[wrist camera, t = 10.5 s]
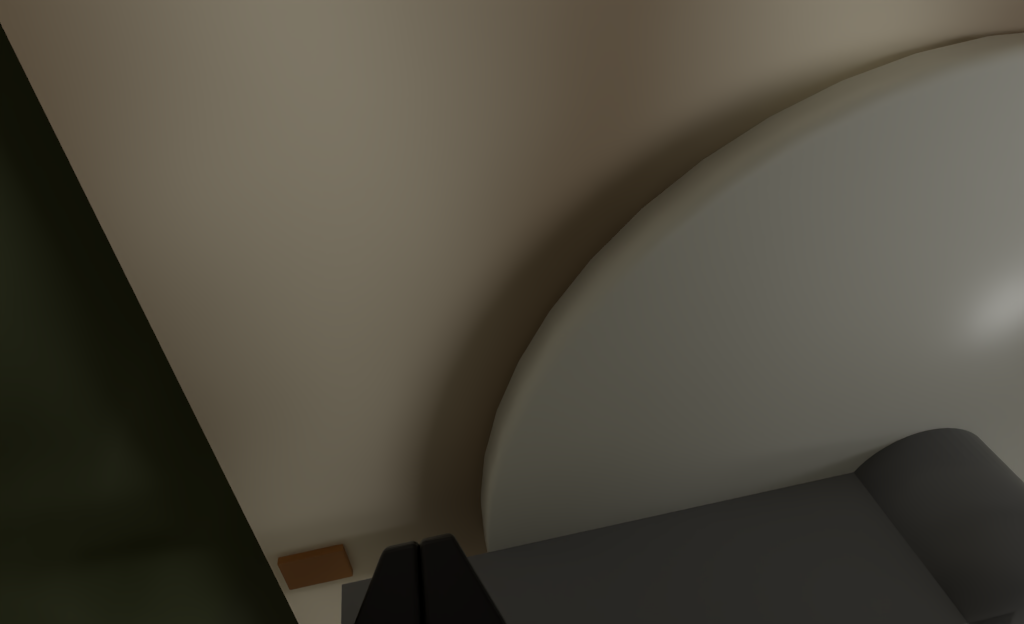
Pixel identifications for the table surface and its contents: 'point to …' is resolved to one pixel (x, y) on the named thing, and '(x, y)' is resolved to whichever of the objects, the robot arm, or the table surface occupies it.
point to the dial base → (401, 209)
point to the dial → (787, 378)
